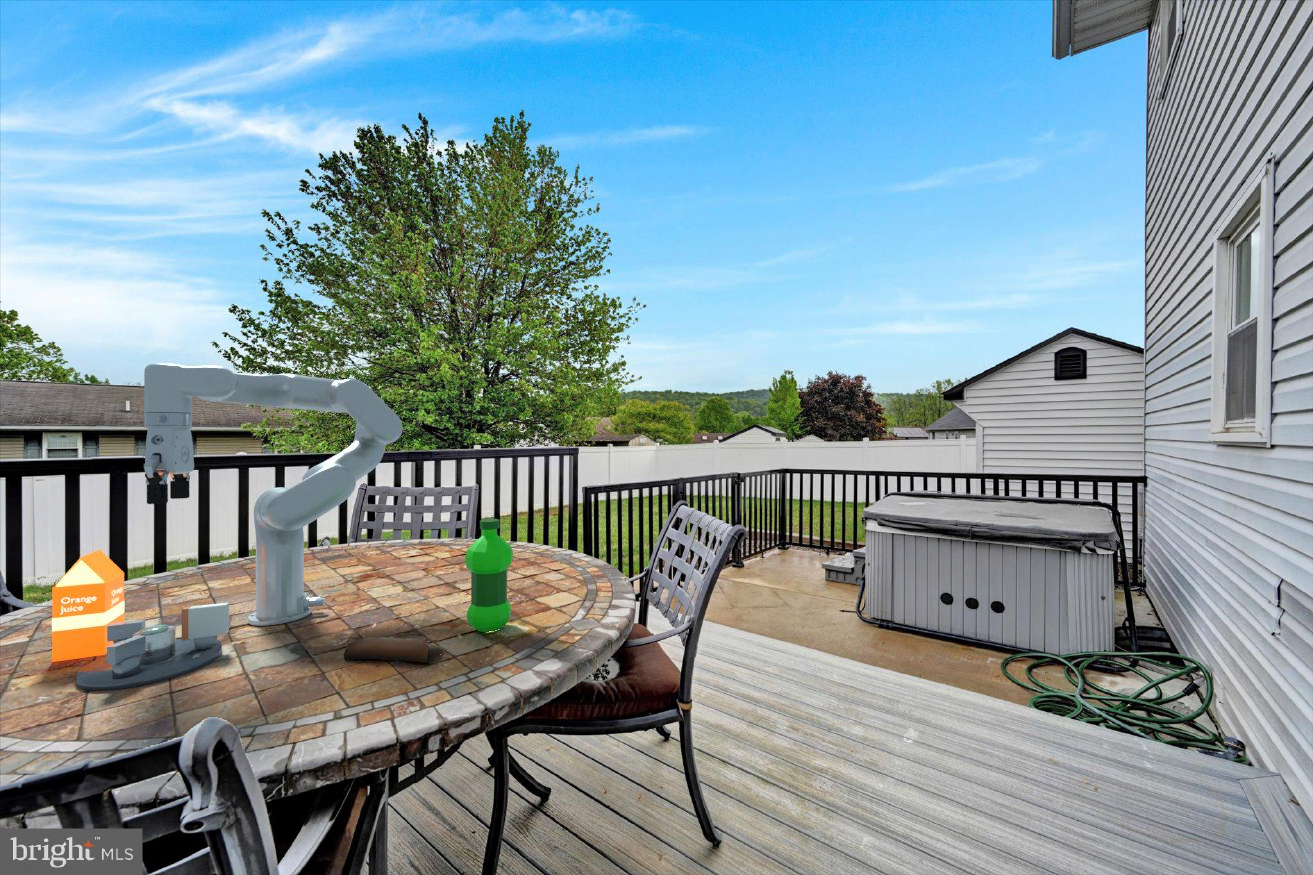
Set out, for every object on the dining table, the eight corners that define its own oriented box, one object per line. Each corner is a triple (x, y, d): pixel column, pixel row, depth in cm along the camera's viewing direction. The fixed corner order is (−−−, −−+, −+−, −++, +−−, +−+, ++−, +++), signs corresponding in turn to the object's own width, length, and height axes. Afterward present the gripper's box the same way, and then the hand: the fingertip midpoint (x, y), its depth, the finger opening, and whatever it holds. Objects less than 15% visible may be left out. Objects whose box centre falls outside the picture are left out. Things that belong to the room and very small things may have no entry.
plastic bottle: (498, 618, 127) (498, 515, 127) (520, 629, 119) (521, 520, 119) (458, 628, 120) (458, 520, 120) (479, 641, 112) (479, 525, 112)
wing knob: (230, 639, 109) (230, 600, 109) (224, 645, 105) (224, 605, 105) (186, 645, 106) (186, 605, 106) (179, 651, 102) (179, 610, 102)
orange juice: (51, 662, 101) (51, 560, 101) (75, 646, 109) (75, 551, 109) (106, 654, 105) (106, 555, 105) (125, 639, 113) (125, 547, 113)
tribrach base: (234, 638, 114) (234, 604, 114) (202, 676, 96) (202, 635, 95) (110, 654, 105) (110, 617, 105) (49, 700, 87) (49, 655, 87)
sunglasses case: (450, 647, 109) (442, 626, 105) (435, 678, 102) (425, 656, 99) (370, 644, 111) (360, 622, 107) (351, 673, 105) (338, 652, 101)
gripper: (171, 420, 106) (171, 505, 106) (207, 422, 122) (207, 495, 122) (122, 420, 103) (123, 506, 103) (166, 422, 119) (166, 497, 119)
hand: (169, 500), depth 112 cm, fingers open, 9 cm apart
